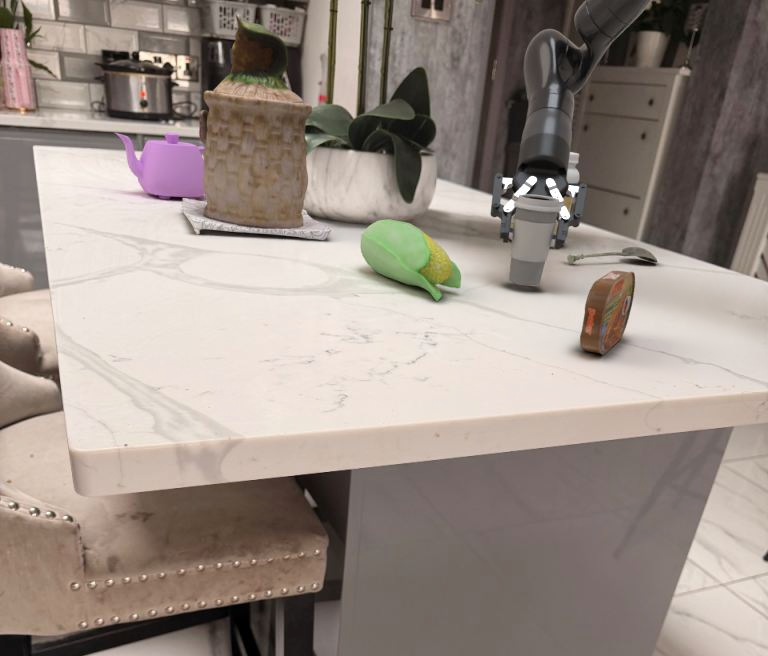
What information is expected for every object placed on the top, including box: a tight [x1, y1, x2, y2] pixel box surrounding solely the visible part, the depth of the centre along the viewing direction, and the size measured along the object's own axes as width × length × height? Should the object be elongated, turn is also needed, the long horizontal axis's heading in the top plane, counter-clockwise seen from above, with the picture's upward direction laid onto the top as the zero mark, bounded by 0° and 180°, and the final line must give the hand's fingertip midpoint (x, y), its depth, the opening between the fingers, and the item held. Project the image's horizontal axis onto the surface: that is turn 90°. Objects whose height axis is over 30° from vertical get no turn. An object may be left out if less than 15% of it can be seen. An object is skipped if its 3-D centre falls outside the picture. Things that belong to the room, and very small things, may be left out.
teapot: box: [114, 132, 206, 200], centre depth 155 cm, size 20×13×12 cm, turn 120°
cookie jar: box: [181, 14, 331, 241], centre depth 131 cm, size 25×25×32 cm
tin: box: [579, 270, 636, 356], centre depth 91 cm, size 15×3×8 cm, turn 151°
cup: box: [508, 194, 562, 287], centre depth 113 cm, size 7×7×12 cm
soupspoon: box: [566, 246, 659, 265], centre depth 142 cm, size 22×3×7 cm
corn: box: [360, 218, 462, 302], centre depth 110 cm, size 8×8×20 cm
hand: (531, 242), depth 111 cm, fingers closed on cup, 7 cm apart
